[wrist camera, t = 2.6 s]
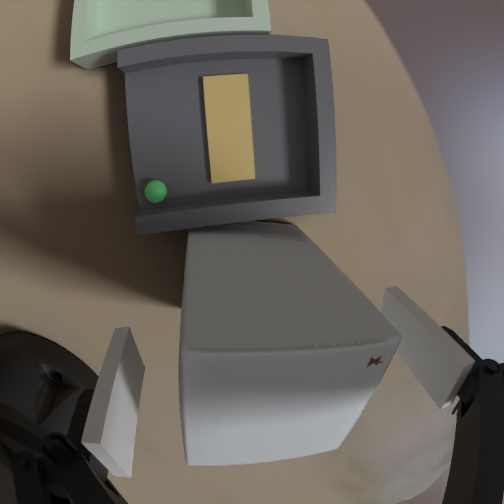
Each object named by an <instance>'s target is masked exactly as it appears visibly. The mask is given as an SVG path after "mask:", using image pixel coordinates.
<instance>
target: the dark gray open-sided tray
mask: <svg viewBox="0 0 504 504" xmlns="http://www.w3.org/2000/svg"><path fill="white" fill-rule="evenodd" d="M117 68H118V69H120V70H121V71H122V72H123V73H124V74H125V89H126V106H127V119H128V130H129V140H130V149H131V157H132V165H133V173H134V180H135V187H136V193H137V199H138V205H139V211H138V213H137V214H136V215H135V217H134V223H135V228H136V233H137V236H140V235H147V234H154V233H161V232H168V231H175V230H182V229H190V228H197V227H205V226H213V225H221V224H229V223H237V222H245V221H254V220H262V219H271V218H280V217H290V216H299V215H309V214H319V213H330V212H336V136H335V115H334V99H333V85H332V73H331V63H330V53H329V44H328V39H320V38H311V37H300V36H285V35H221V36H206V37H195V38H186V39H178V40H171V41H164V42H158V43H152V44H146V45H141V46H136V47H132V48H127V49H123V50H118V51H117Z"/></svg>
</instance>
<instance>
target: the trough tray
mask: <svg viewBox="0 0 504 504" xmlns="http://www.w3.org/2000/svg"><path fill="white" fill-rule="evenodd" d="M270 31H271V26H270V16H269V7H268V0H74V8H73V17H72V28H71V45H70V61H72V62H74V63H76V64H78V65H79V66H81V67H83V68H85V69H87V70H90V69H94V68H97V67H101V66H104V65H108V64H112V63H116V62H117V51H118V50H123V49H127V48H132V47H136V46H141V45H146V44H152V43H158V42H164V41H171V40H178V39H186V38H195V37H206V36H221V35H268V34H269V33H270Z"/></svg>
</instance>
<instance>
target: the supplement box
mask: <svg viewBox="0 0 504 504" xmlns="http://www.w3.org/2000/svg"><path fill="white" fill-rule="evenodd" d="M401 340H402V336H401V334H400V333H399V332H398V331H397V330H396V328H395V327H394V326H393V325H392V324H391V323H390V322H389V321H388V320H387V319H386V318H385V316H384V315H383V314H382V313H381V312H380V311H379V310H378V309H377V308H376V307H375V306H374V304H373V303H372V302H371V301H370V300H369V299H368V298H367V297H366V296H365V295H364V294H363V293H362V292H361V291H360V290H359V289H358V287H357V286H356V285H355V284H354V283H353V282H352V281H351V280H350V279H349V278H348V277H347V276H346V275H345V274H344V273H343V272H342V271H341V270H340V269H339V268H338V267H337V266H336V265H335V264H334V263H333V261H332V260H331V259H330V258H329V257H328V256H327V255H326V254H325V253H324V252H323V251H322V250H321V249H320V248H319V247H318V246H317V245H316V244H315V243H314V242H313V241H312V240H311V239H310V238H309V237H308V236H307V235H306V234H305V233H304V232H303V231H302V230H300V229H299V228H298V227H297V226H296V225H291V224H281V223H269V222H260V221H245V222H237V223H229V224H221V225H213V226H205V227H197V228H190V229H189V230H188V240H187V250H186V260H185V271H184V283H183V296H182V309H181V325H180V344H179V403H180V417H181V427H182V437H183V445H184V452H185V458H186V463H187V465H197V466H216V465H238V464H251V463H262V462H270V461H278V460H284V459H291V458H297V457H302V456H307V455H312V454H317V453H322V452H326V451H331V450H335V449H337V448H338V447H339V446H340V445H341V444H342V442H343V441H344V439H345V438H346V436H347V435H348V433H349V432H350V430H351V429H352V427H353V426H354V424H355V423H356V421H357V419H358V418H359V416H360V415H361V413H362V411H363V410H364V408H365V407H366V405H367V404H368V402H369V400H370V399H371V397H372V395H373V393H374V391H375V390H376V388H377V386H378V384H379V382H380V380H381V379H382V377H383V375H384V373H385V371H386V369H387V367H388V366H389V364H390V362H391V360H392V358H393V356H394V354H395V352H396V350H397V348H398V346H399V344H400V342H401Z"/></svg>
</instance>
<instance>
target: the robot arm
mask: <svg viewBox="0 0 504 504" xmlns="http://www.w3.org/2000/svg"><path fill="white" fill-rule="evenodd" d="M381 313H382V314H383V315H384V316H385V318H386V319H387V320H388V321H389V322H390V323H391V324H392V325H393V326H394V327H395V328H396V330H397V331H398V332H399V333H400V334H401V336H402V340H401V342H400V344H399V346H398V348H397V350H396V353H397V354H398V355H399V356H400V358H401V359H402V360H403V361H404V363H405V364H406V365H407V366H408V368H409V369H410V370H411V372H412V373H413V374H414V375H415V377H416V378H417V379H418V381H419V382H420V383H421V384H422V386H423V387H424V388H425V390H426V391H427V392H428V394H429V395H430V396H431V398H432V399H433V400H434V402H435V403H436V404H437V406H438V407H439V408H440V410H441V409H443V408H445V407H446V406H448V405H450V404H452V402H453V401H454V399H455V397H456V396H457V395H458V396H459V398H460V400H459V401H458V403H457V405H456V406H455V408H454V409H453V411H452V414H454V413H455V411H456V410H457V409H458V410H457V414H456V415H457V422H456V432H455V440H454V448H453V454H452V460H451V466H450V472H449V477H448V482H447V486H446V490H445V494H444V499H443V502H442V504H502V500H503V493H504V363H500V364H499V363H498V362H496V361H494V360H492V359H484V360H482V359H481V358H480V357H479V356H478V355H477V354H476V353H475V352H474V351H473V350H472V349H471V348H470V347H469V346H468V345H467V344H466V343H464V341H463V340H462V339H461V338H459V336H458V335H457V334H456V333H455V332H454V331H453V330H451V329H449V328H447V327H445V326H442V327H440V326H439V325H438V324H437V323H436V322H435V321H434V320H433V319H432V318H431V317H430V316H429V315H428V314H427V313H426V312H425V311H423V310H422V309H421V308H420V307H419V306H418V305H417V304H416V303H415V302H414V301H413V300H412V299H410V298H409V297H408V296H407V295H406V294H405V293H404V292H403V291H401V290H400V289H399V288H398V287H397V286H395V287H391V288H386V289H385V294H384V300H383V306H382V311H381ZM144 371H145V366H144V364H143V361H142V359H141V356H140V354H139V351H138V349H137V346H136V343H135V341H134V338H133V335H132V332H131V330H130V327H122V328H115V330H114V333H113V336H112V339H111V342H110V345H109V347H108V350H107V353H106V356H105V359H104V362H103V365H102V368H101V371H100V375H99V377H98V376H97V375H96V374H95V373H94V372H93V371H92V370H91V369H90V368H89V367H88V366H87V365H85V364H84V363H83V362H82V361H80V360H79V359H78V358H77V357H75V356H74V355H72V354H71V353H69V352H68V351H66V350H65V349H63V348H61V347H60V346H58V345H56V344H54V343H52V342H50V341H48V340H46V339H43V338H41V337H38V336H35V335H32V334H28V333H22V332H9V333H5V334H3V335H1V336H0V504H128V503H127V502H126V501H125V499H124V498H123V497H122V496H121V494H120V493H119V492H118V491H117V489H116V488H115V487H114V485H113V484H112V483H111V481H110V480H109V479H108V478H107V474H108V471H109V472H110V473H111V474H112V475H113V476H119V477H131V476H132V463H133V452H134V443H135V434H136V425H137V417H138V410H139V403H140V396H141V389H142V383H143V377H144Z"/></svg>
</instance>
